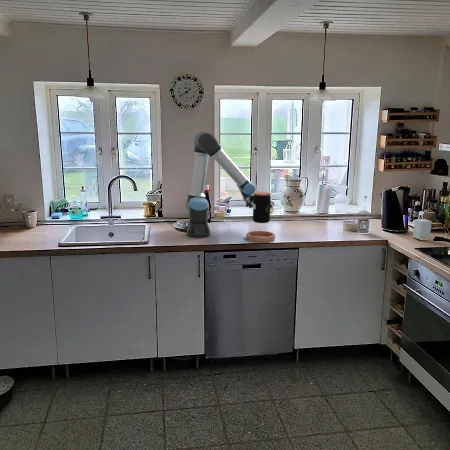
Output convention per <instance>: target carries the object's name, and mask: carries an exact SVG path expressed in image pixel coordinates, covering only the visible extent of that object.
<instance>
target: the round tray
mask: <svg viewBox="0 0 450 450" xmlns="http://www.w3.org/2000/svg"><path fill="white" fill-rule="evenodd" d="M245 235H246V236H245V238H246V240H248V241H250V242H254V243H271V242H274V241H275V239H276V233H274V232H272V231H269V230H251V231H248V232H247V233H246V234H245Z"/></svg>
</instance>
